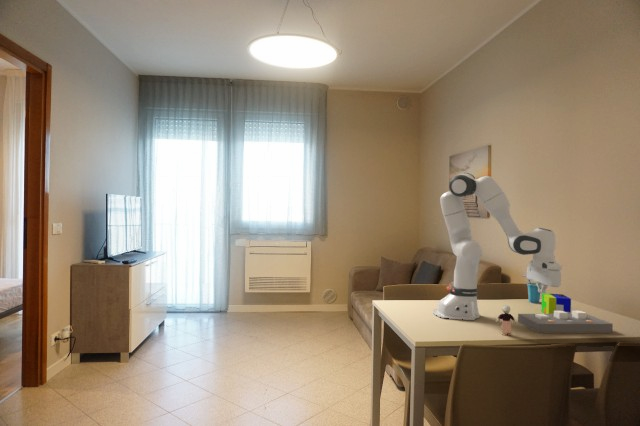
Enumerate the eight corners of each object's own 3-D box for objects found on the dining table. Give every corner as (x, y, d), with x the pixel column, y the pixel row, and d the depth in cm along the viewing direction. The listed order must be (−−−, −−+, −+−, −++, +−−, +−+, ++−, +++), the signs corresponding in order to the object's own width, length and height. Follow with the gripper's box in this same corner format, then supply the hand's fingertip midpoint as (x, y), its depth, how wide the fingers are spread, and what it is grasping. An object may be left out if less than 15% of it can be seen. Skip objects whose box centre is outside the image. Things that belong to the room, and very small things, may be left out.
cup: (517, 299, 234) (518, 274, 234) (526, 298, 237) (527, 274, 237) (539, 305, 221) (539, 278, 221) (548, 304, 224) (548, 278, 224)
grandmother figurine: (511, 333, 171) (512, 304, 171) (516, 336, 167) (517, 306, 167) (494, 333, 171) (495, 304, 170) (498, 335, 167) (499, 306, 166)
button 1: (540, 322, 180) (540, 316, 180) (535, 320, 184) (535, 313, 184) (548, 322, 180) (548, 316, 180) (543, 320, 184) (543, 313, 184)
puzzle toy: (570, 318, 195) (571, 298, 195) (548, 317, 197) (549, 297, 197) (562, 313, 205) (562, 294, 205) (541, 312, 207) (542, 293, 207)
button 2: (578, 319, 181) (578, 312, 181) (572, 316, 185) (572, 310, 185) (586, 319, 181) (586, 313, 181) (580, 316, 185) (580, 310, 185)
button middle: (559, 319, 180) (559, 312, 180) (553, 316, 184) (553, 310, 184) (567, 319, 181) (567, 312, 181) (561, 316, 185) (561, 310, 185)
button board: (538, 332, 172) (538, 323, 172) (517, 322, 188) (518, 313, 188) (612, 332, 174) (612, 323, 174) (585, 322, 190) (586, 313, 190)
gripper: (523, 259, 192) (522, 287, 192) (550, 266, 171) (549, 297, 172) (536, 260, 192) (534, 288, 193) (564, 266, 172) (562, 298, 172)
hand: (541, 292), depth 182 cm, fingers closed
